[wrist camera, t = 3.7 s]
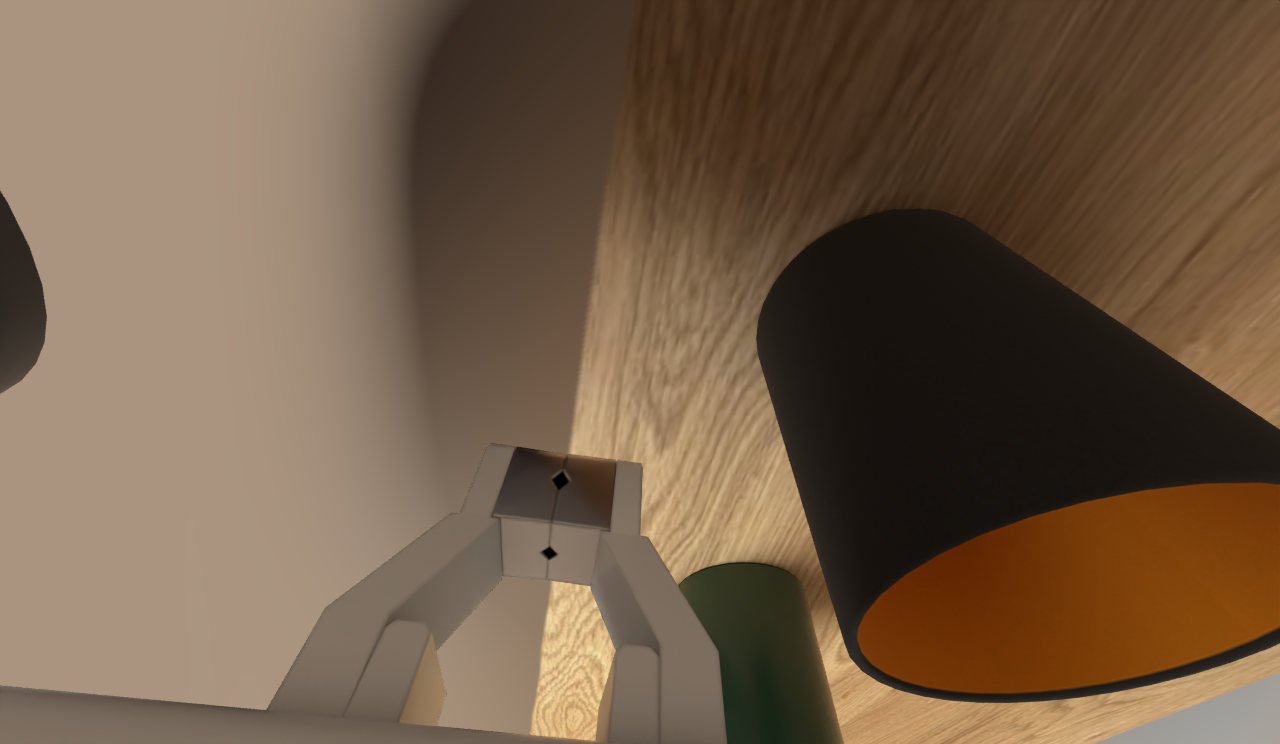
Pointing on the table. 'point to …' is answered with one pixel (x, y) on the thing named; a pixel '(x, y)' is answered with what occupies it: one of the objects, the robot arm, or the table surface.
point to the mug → (1012, 473)
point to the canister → (765, 655)
